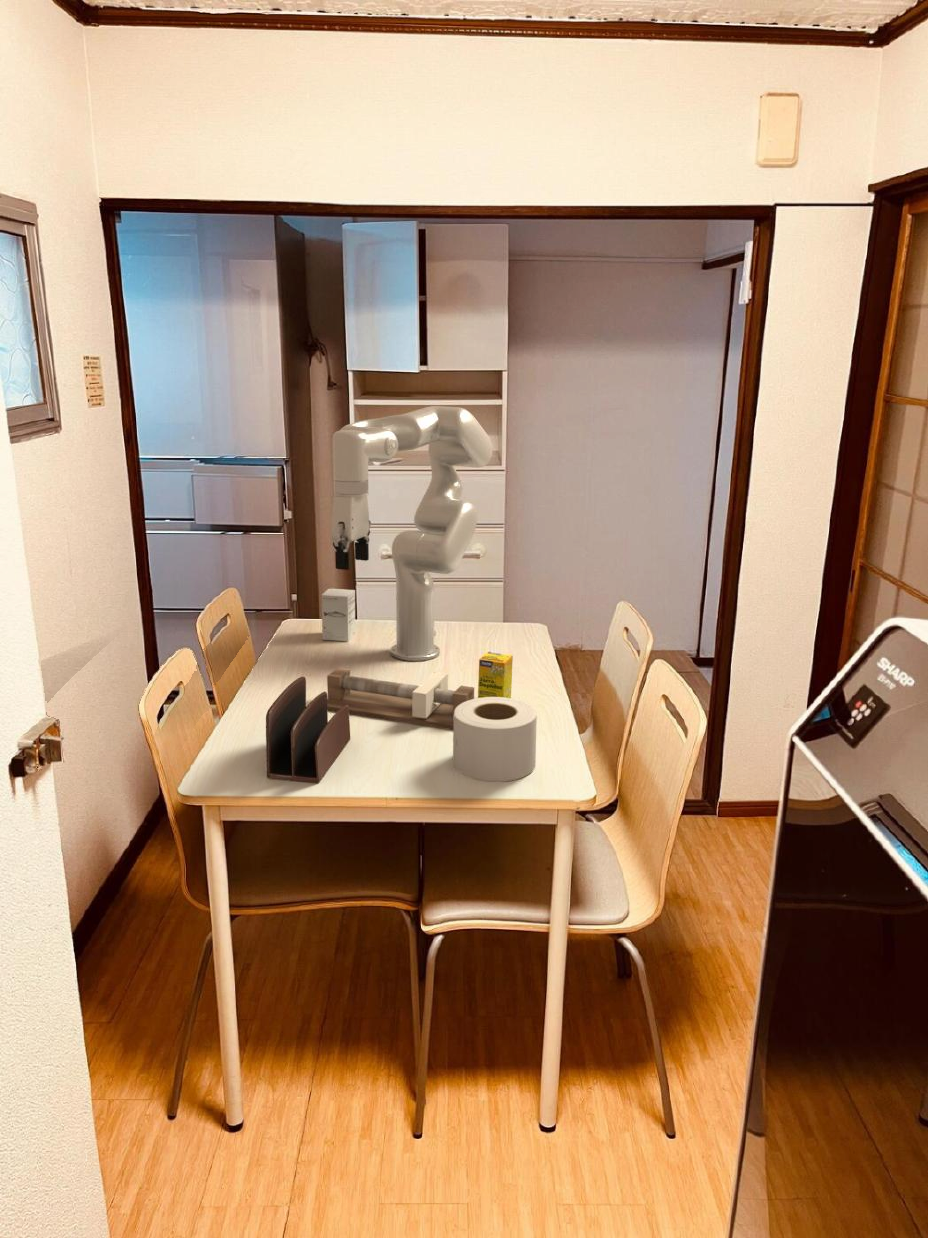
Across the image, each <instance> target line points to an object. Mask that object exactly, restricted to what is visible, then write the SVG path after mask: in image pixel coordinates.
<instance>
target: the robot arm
mask: <svg viewBox="0 0 928 1238" xmlns="http://www.w3.org/2000/svg"><path fill="white" fill-rule="evenodd" d="M427 445H428V447H427V448H428V455H429V457H428V458H429V463H430V467H431V468H430V469H431V479H430V482H429V485H428V487H427V489H426V490H425V493H424V495H423V496H422V498H421V500H420V503H419V505H418V507H417V508H416V511H415V514H414V519H413V523H414V526H415V528H416V529H417V530H405V531H401V532H400V533H398V534H397V535H396V536H395V538H393V541H392V543H391V544H392V545H391V555H392V561H393V566H394V571H395V582H396V583H395V592H396V593H395V595H396V596H395V600H396V601H395V605H396V606H395V607H396V608H395V610H396V613H395V614H396V616H395V617H396V619H395V620H396V624H395V625H396V628H395V629H396V631H395V632H396V633H395V634H396V638H395V639H396V644H394V645H393V646H392V645H391V648H390V651H389V652H390V655H391V656H392V657H394V658H396V659H399V660H403V661H410V662H411V661H412V662H416V661H417V662H420V661H421V662H423V661H429V660H432V659H435V658H436V657H438V656H439V655H440V654H441V649H440V647H439V646H438V645H436V644H435V640H434V639H435V636H436V635H437V632H436V630H435V585H434V581H433V578H432V575H431V574H430V573H433V574H439V575H449V574H451V573H453V572H455V571H456V569H457V568H458V566H459V565H460V563H461V561H462V560H463V557H464V555H465V553H466V551H467V550H468V549H467V548H468V547H469V544H470V542H471V540H472V538H473V536H474V534H475V531H476V528H477V523H478V514H477V509H476V508H475V506H474V505H473V503H471V502H469V501H467V500H463V499H460V498H461V496H462V494H463V483H462V480H461V478H460V476H459V474H458V472H457V469H456V467H466V468H467V467H468V468H476V469H477V468H479V469H480V468H483V467H485V466H487V465H488V464H489V463H490V461H491V459H492V457H493V444H492V441H491V439H490V436H489V435H488V434H487V432H486V431H485V429H484V428H483V427H482V426H481V424H480V423H479V422H478V420H477V418H475V416H474V415H473V414H472V413H471V412H470V411H469V410H467V409H466V408H464V407H463V408H462V407H456V406H442V405H440V406H439V405H431V406H426V407H422V408H419V409H416V410H412V411H410V412H406V413H402V414H396V415H388V416H384V417H378V418H376V417H375V418H370V419H369V418H368V419H363V420H360V421H356V422H355V421H354V422H353V423H348V424H346V425H344V426H343V427H342V428H340V429H339V430H337V431H335V432H334V433H333V435H332V468H333V471H332V472H333V495H334V496H333V500H332V501H333V503H332V513H331V540H332V546H333V551H334V554H335V556H334V557H335V568H336V569H337V570H344V571H348V570H349V571H350V568H351V564H350V563H351V561H350V560H351V557H350V556H351V554H350V551H348V550H349V547H350V544H351V543H352V542H354V560H356V561H365V562H367V561H369V559H370V558H369V557H370V556H369V555H370V554H369V553H370V552H369V551H370V550H369V544H370V534H371V530H370V529H371V524H372V522H371V520H370V517H369V515H370V514H369V501H368V496H369V463H385V462H388V461H390V460H392V459H393V458H395V456H396V454H397V452H406V451H413V450H416V449H418V448H421V447H424V446H427Z"/></svg>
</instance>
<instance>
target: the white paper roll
mask: <svg viewBox="0 0 928 1238" xmlns="http://www.w3.org/2000/svg"><path fill="white" fill-rule="evenodd" d="M537 715H538V714H537V710H536V708H535V707H534V706H532V705H531V704H530V703H527V702H525V701H522V700H519V699H516V698H512V697H511V698H504V697H483V698H478V697H477V698H474V699H472V700H468V701H466V702H463V703H461V704H460V705H458V706H457V707H456V709H455V711H454V716H453V720H454V730H453V731H452V732H453V734H452V741H453V742H452V743H453V745H452V746H453V747H452V766H453V767H454V769H455V770H456V771H458V772H459V773H460V774H462V775H463V776H465V777H468V778H470V779H474V780H478V781H483V782H492V783H493V782H497V783H498V782H501V783H502V782H510V781H515V780H519V779H522V778H524V777H526V776H528V775H529V774H531V773H532V772H533V771H534V770H535V767H536V759H537V758H536V754H537V721H538V720H537V719H538V717H537Z"/></svg>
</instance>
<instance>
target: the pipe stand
mask: <svg viewBox="0 0 928 1238" xmlns="http://www.w3.org/2000/svg"><path fill="white" fill-rule="evenodd" d="M326 678H327V679H326V680H327V683H326V684H327V685H326V686H327V710H328V712H335V713H336V712H337V711H338V710H339V709H340V708H341V707H343V706H344V705H348V707H349V715H356V716H362V717H369V718H376V719H382V720H387V721H395V722H401V723H406V724H407V723H408V724H414V725H418V726H419V725H421V726H425V727H426V726H427V727H433V728H439V729H445V730H452V731H454V720H453V716H454V711H455V709H456V707H457V706H458V705H460V704H461V703H463V702H466V701H468V700H472V699H475V687H473V686H466V685H460V686H459V687H458V688H456V690H452V689H451V690H450V689H448V690H445V689H438V688H435V689H434V702H436V703H441V704H440V705H439V706H438V707H437V708H436V709H435V710H434V711H433V712H432V713H431V714H430V715H429V716H428V717H427V718H419V717H413V716H412V692H413V691H414V690H415V689H416V688H418V687H419V686H420V685H415V684H409V683H402V682H394V681H387V680H381V679H372V678H366V677H365V678H364V677H360V676H359V677H358V676H351V671H350V669H345V668H336V669H334V670H333V671H332V672H330V673H329V674H327V675H326Z"/></svg>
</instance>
